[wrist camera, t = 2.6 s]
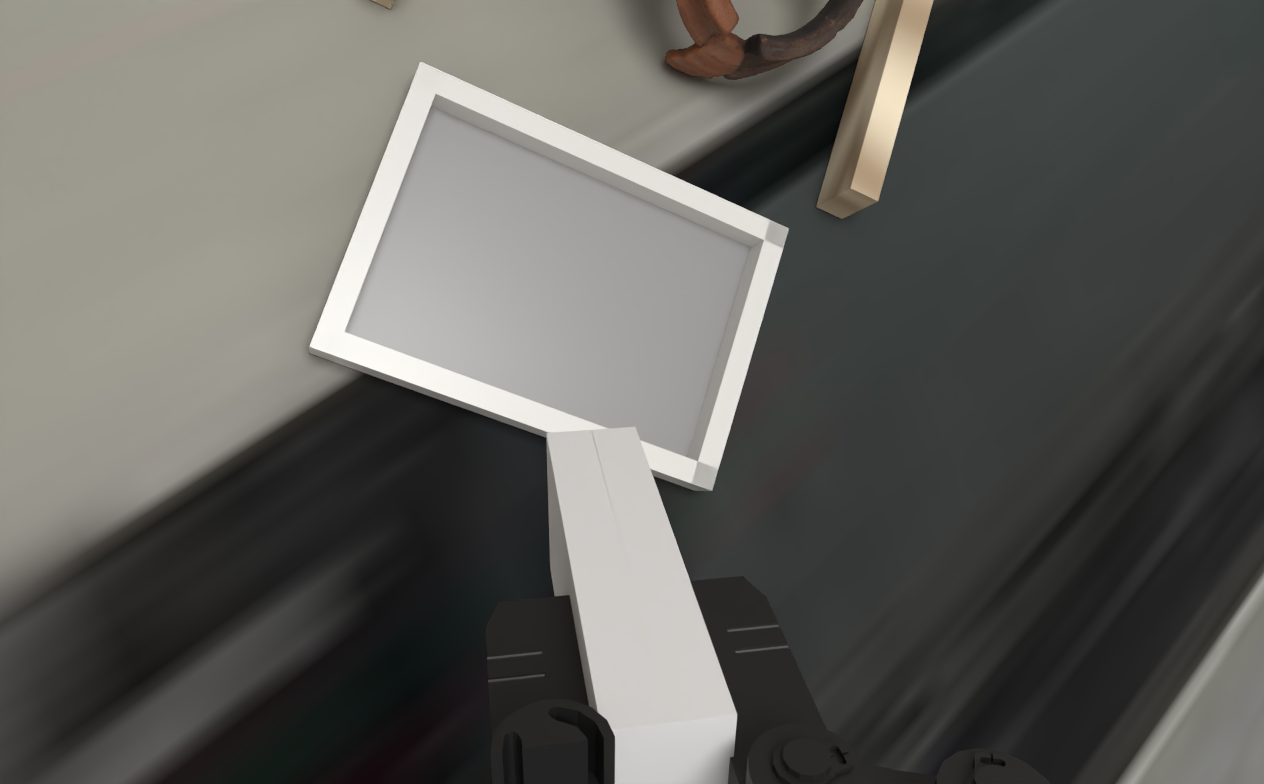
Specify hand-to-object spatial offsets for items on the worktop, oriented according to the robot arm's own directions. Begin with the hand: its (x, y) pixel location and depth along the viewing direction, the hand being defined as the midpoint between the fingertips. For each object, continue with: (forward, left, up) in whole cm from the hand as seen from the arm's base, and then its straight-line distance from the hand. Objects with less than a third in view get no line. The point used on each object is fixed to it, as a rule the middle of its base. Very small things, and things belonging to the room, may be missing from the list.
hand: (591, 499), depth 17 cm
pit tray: (0, +8, -17) cm, 18 cm away
